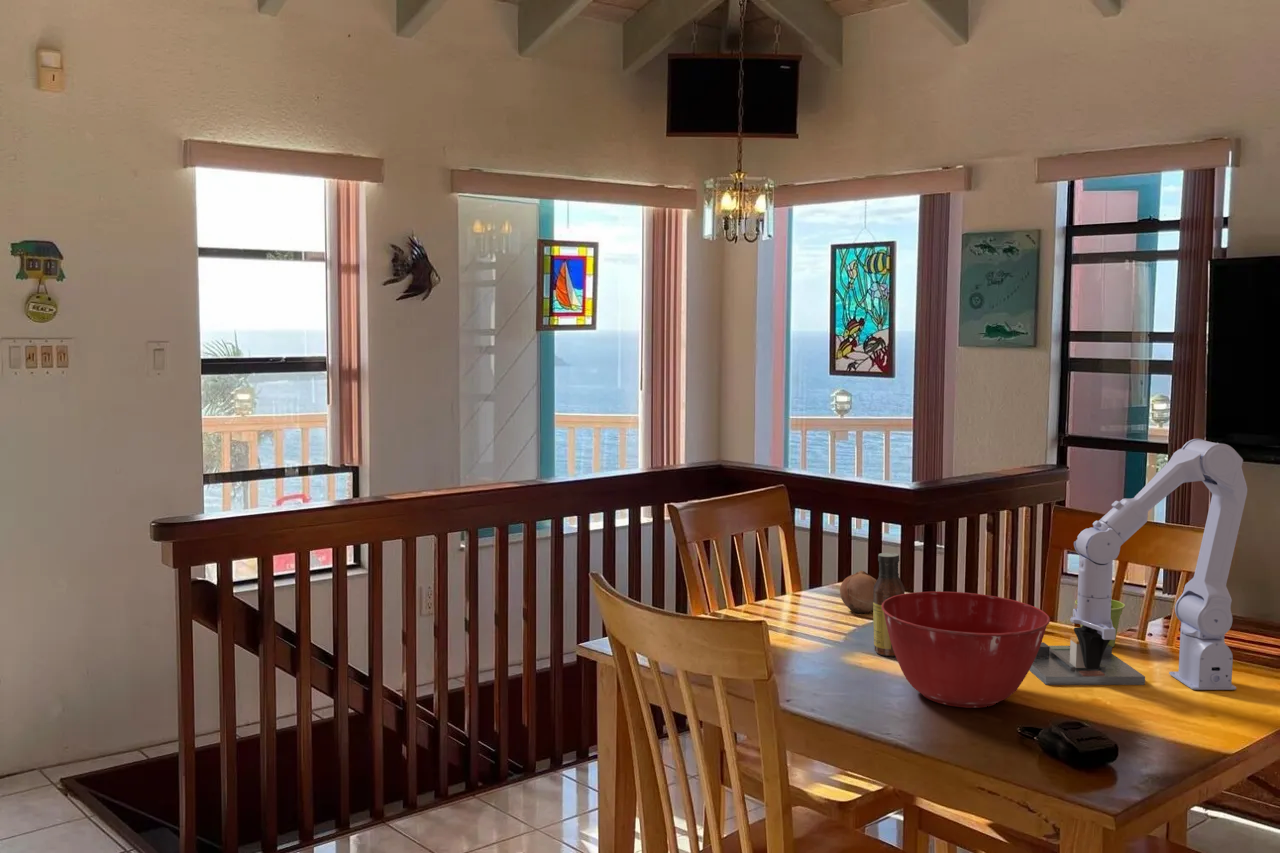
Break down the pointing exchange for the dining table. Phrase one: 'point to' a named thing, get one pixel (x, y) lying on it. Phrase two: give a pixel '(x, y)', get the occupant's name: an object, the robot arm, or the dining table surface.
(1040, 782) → the dining table surface
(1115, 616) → the plant pot
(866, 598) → the onion
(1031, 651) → the mixing bowl
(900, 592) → the sauce bottle
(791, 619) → the dining table surface
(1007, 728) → the dining table surface
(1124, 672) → the panel
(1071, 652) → the white orange block
